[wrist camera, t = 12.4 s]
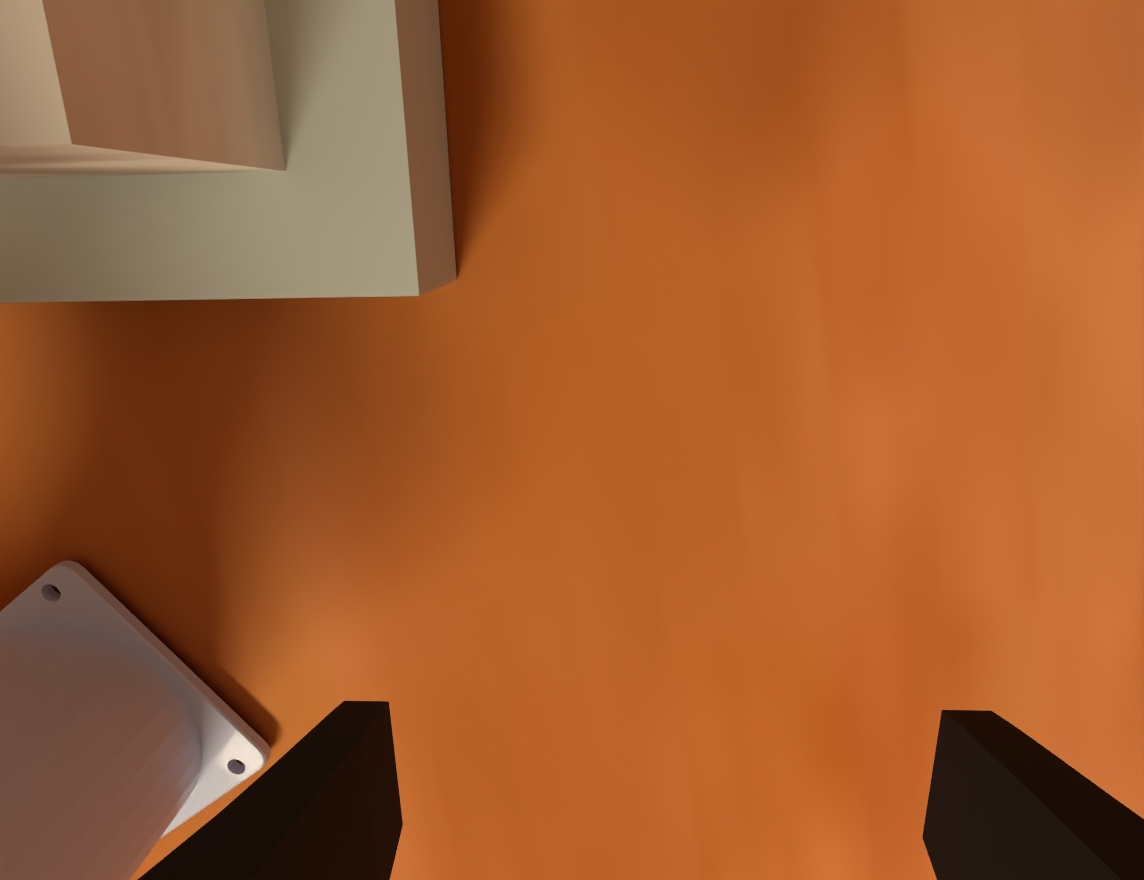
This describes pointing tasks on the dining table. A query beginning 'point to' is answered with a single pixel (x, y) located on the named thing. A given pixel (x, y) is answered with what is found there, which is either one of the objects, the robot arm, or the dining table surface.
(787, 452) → the dining table surface
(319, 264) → the sage pedestal
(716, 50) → the dining table surface
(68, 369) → the dining table surface
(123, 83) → the cream cube
